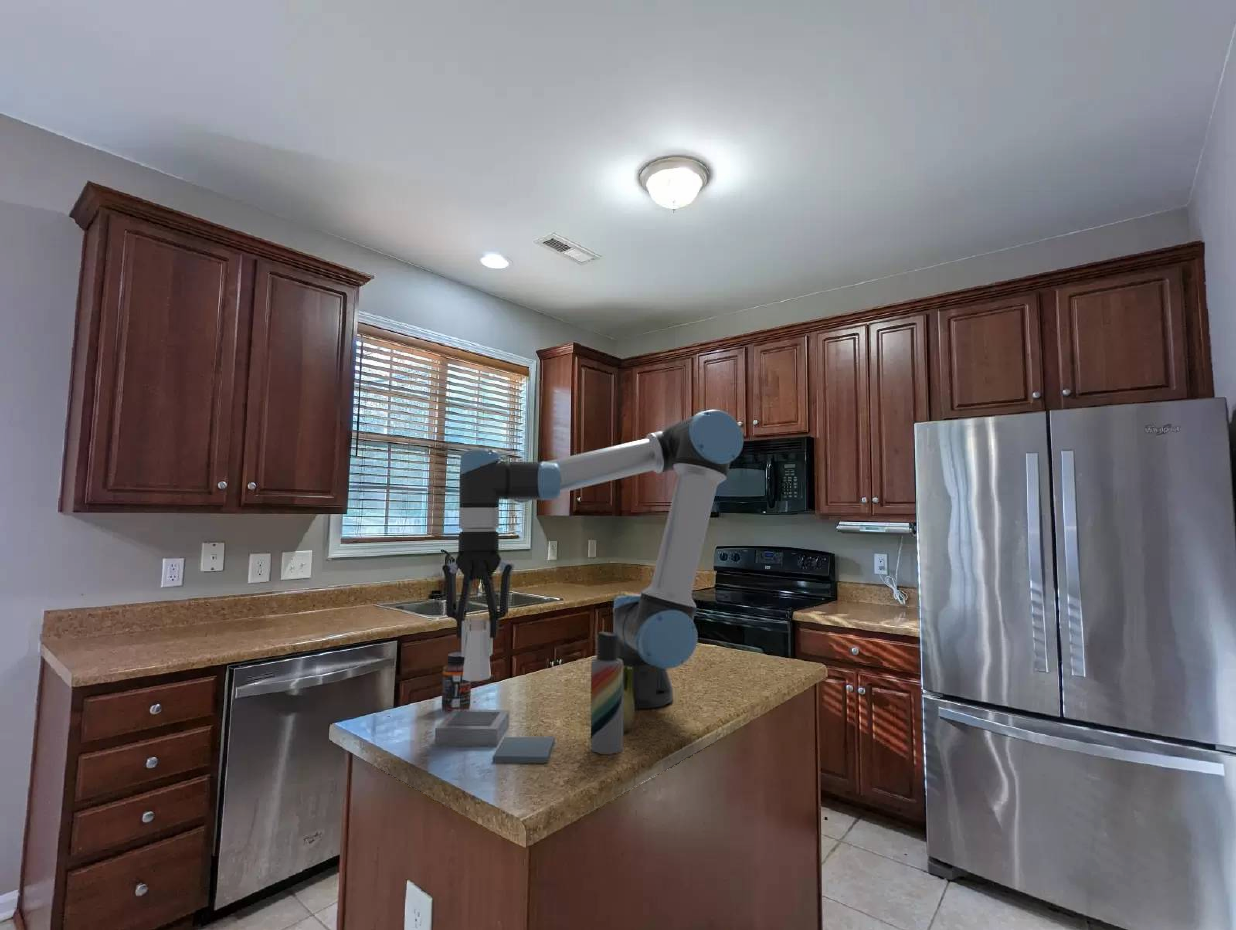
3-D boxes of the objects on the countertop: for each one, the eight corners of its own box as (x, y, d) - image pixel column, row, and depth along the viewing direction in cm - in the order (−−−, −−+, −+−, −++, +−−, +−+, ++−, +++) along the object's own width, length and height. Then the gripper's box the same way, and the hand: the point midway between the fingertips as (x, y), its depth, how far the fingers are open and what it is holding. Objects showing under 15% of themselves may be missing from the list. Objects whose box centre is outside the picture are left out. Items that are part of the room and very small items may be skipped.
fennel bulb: (602, 735, 112) (603, 669, 113) (605, 726, 117) (605, 663, 118) (634, 736, 112) (634, 670, 113) (635, 727, 117) (635, 663, 118)
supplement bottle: (462, 713, 125) (464, 657, 126) (436, 711, 126) (437, 656, 127) (475, 705, 131) (476, 651, 132) (449, 703, 132) (451, 650, 133)
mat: (554, 743, 108) (554, 737, 108) (547, 763, 99) (547, 756, 99) (504, 742, 108) (504, 736, 109) (493, 762, 99) (493, 756, 100)
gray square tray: (509, 725, 117) (509, 709, 118) (496, 746, 106) (496, 728, 107) (453, 725, 118) (453, 709, 118) (434, 745, 107) (435, 728, 107)
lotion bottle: (589, 743, 108) (590, 629, 110) (621, 742, 109) (621, 629, 110) (591, 755, 102) (591, 635, 104) (624, 754, 103) (624, 634, 105)
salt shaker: (466, 683, 110) (467, 621, 111) (458, 676, 114) (459, 617, 115) (495, 679, 112) (495, 618, 113) (486, 672, 117) (487, 614, 118)
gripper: (526, 529, 119) (525, 651, 117) (441, 530, 120) (439, 651, 118) (518, 530, 112) (517, 659, 110) (428, 531, 112) (425, 659, 110)
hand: (477, 655), depth 114 cm, fingers closed on salt shaker, 4 cm apart
